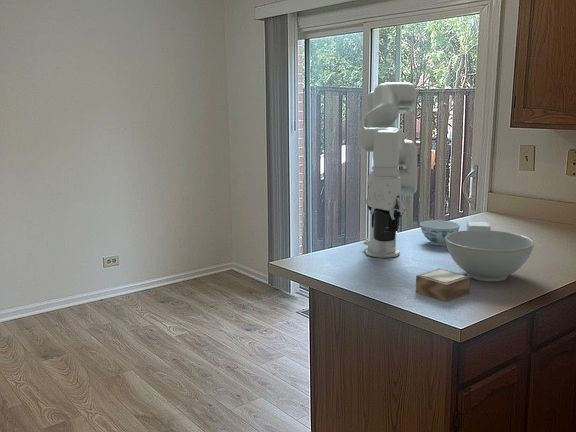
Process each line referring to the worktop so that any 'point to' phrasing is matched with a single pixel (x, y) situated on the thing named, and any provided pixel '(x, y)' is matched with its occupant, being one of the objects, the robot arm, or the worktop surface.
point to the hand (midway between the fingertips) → (384, 228)
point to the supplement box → (478, 226)
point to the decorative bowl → (488, 253)
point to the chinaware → (438, 230)
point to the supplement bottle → (382, 226)
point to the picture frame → (442, 284)
